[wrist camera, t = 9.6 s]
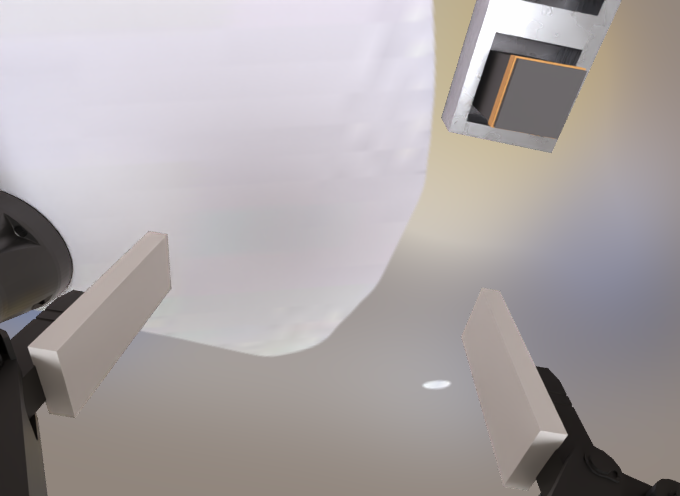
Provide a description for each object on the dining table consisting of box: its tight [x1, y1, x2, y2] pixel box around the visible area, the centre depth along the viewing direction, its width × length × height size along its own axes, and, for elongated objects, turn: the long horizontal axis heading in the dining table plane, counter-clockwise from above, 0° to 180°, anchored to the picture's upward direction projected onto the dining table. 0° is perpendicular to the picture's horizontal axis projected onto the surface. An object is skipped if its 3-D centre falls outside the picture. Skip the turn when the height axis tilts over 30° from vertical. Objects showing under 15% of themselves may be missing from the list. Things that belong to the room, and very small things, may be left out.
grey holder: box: [441, 0, 621, 153], centre depth 26 cm, size 8×16×10 cm, turn 170°
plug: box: [472, 50, 587, 139], centre depth 28 cm, size 4×4×9 cm
